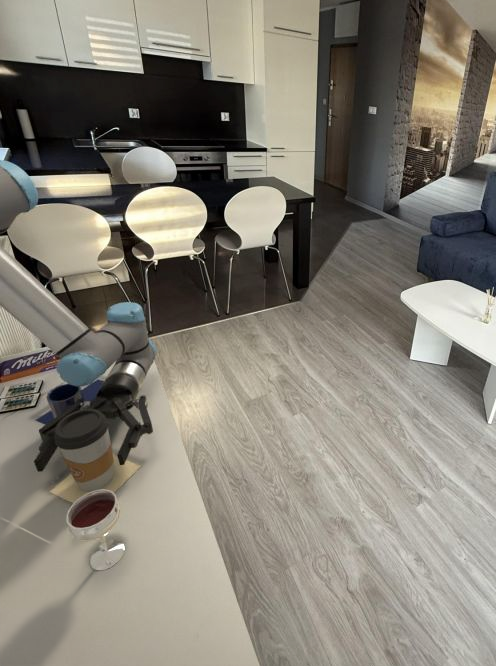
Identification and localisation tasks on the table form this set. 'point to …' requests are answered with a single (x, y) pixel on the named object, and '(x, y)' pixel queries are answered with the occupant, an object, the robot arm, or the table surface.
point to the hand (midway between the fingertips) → (80, 463)
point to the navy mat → (88, 395)
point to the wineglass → (97, 525)
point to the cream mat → (73, 492)
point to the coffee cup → (86, 448)
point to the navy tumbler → (63, 398)
